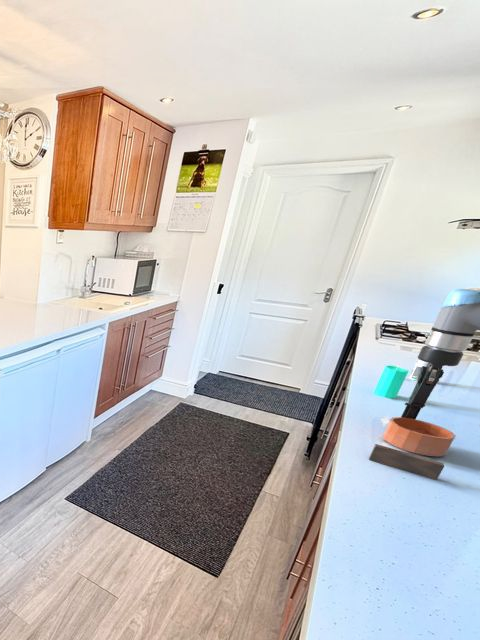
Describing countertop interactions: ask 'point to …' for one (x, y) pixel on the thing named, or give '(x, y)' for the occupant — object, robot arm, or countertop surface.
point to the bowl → (418, 436)
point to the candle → (390, 381)
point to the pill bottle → (417, 370)
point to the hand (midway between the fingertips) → (404, 426)
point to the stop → (406, 461)
